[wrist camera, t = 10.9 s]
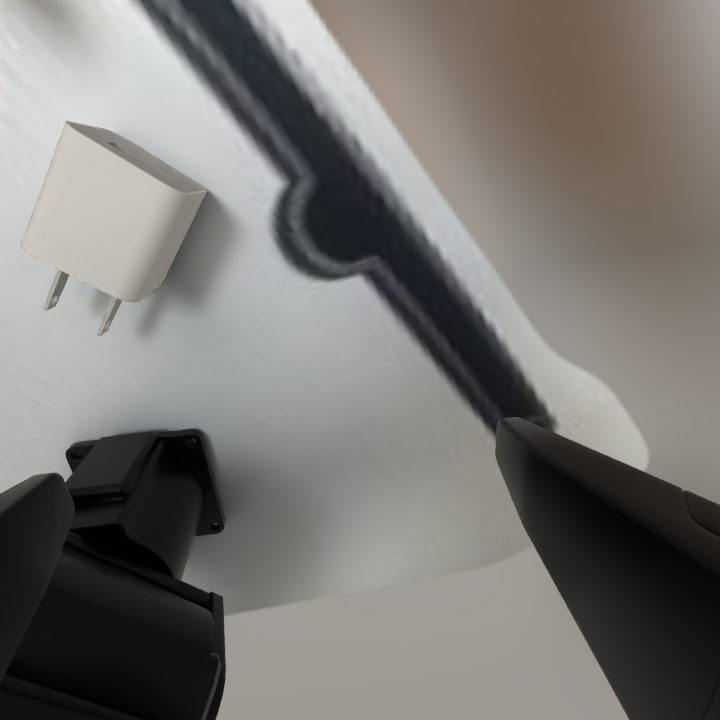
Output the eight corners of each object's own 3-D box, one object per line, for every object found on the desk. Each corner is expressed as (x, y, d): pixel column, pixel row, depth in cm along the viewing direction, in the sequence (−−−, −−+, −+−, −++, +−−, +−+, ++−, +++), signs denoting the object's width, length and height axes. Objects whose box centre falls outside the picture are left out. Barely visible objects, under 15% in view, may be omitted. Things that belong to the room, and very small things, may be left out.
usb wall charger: (210, 190, 18) (184, 195, 14) (143, 329, 20) (104, 364, 16) (112, 130, 17) (55, 118, 13) (51, 283, 19) (-14, 310, 15)
